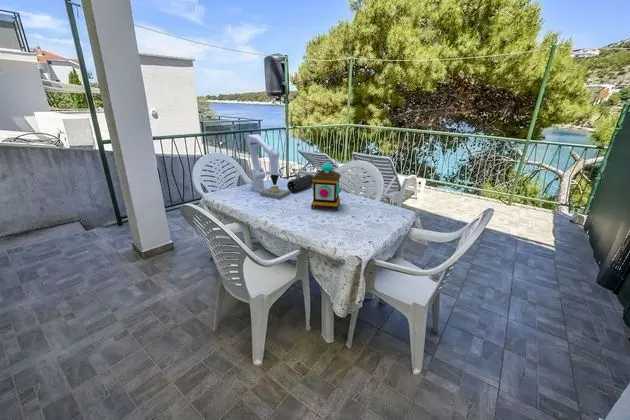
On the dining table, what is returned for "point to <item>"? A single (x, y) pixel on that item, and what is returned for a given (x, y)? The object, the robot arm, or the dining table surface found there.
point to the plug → (274, 189)
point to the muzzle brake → (300, 183)
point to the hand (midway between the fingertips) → (274, 184)
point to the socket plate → (277, 195)
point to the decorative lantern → (326, 188)
